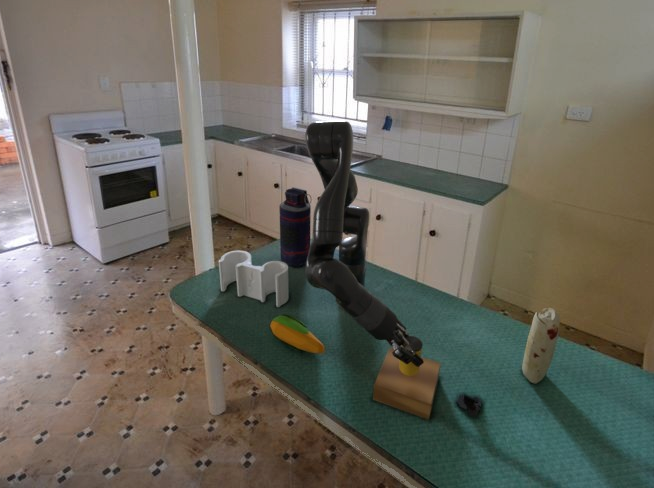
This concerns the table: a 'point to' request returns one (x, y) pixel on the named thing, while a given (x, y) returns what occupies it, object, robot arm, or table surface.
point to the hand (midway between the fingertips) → (417, 355)
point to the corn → (295, 334)
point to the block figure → (469, 404)
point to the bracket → (254, 276)
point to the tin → (417, 348)
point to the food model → (541, 344)
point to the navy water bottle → (295, 227)
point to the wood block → (407, 386)
